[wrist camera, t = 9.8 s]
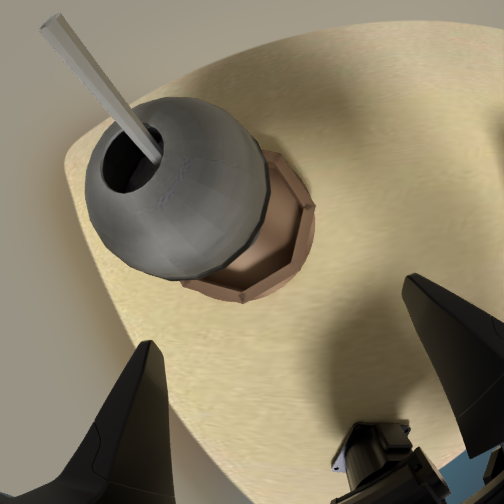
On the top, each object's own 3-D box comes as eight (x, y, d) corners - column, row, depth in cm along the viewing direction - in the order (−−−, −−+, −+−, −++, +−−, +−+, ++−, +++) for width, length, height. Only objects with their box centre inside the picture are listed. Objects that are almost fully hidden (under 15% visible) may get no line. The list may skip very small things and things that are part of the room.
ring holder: (292, 317, 22) (293, 323, 20) (151, 277, 23) (139, 279, 21) (327, 168, 22) (331, 159, 20) (187, 142, 24) (179, 132, 21)
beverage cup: (175, 251, 23) (-79, 221, 3) (209, 170, 23) (43, -17, 3) (257, 286, 22) (69, 439, 2) (292, 200, 22) (307, -65, 2)
